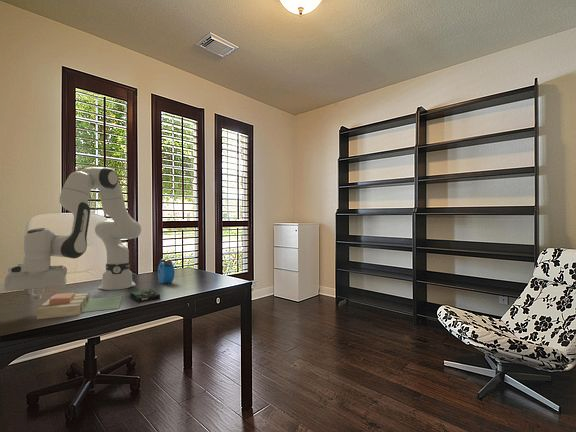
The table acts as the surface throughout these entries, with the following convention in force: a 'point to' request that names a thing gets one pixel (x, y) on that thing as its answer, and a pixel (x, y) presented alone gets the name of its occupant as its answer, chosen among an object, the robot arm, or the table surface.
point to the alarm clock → (165, 271)
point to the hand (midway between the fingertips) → (36, 299)
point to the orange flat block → (62, 298)
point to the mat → (102, 304)
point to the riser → (63, 307)
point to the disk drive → (145, 295)
